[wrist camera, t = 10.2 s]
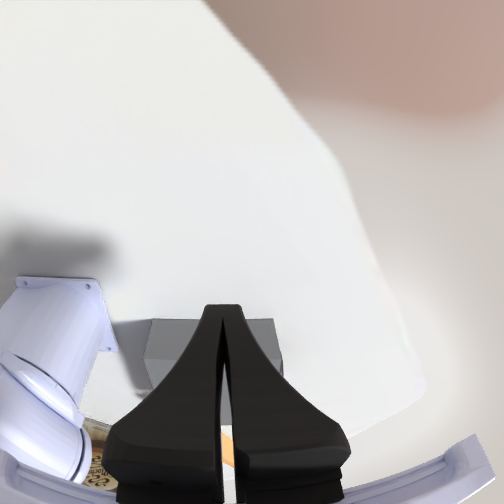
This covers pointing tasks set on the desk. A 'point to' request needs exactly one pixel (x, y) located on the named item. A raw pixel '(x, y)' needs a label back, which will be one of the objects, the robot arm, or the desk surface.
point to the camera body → (177, 338)
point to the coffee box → (98, 457)
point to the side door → (227, 450)
